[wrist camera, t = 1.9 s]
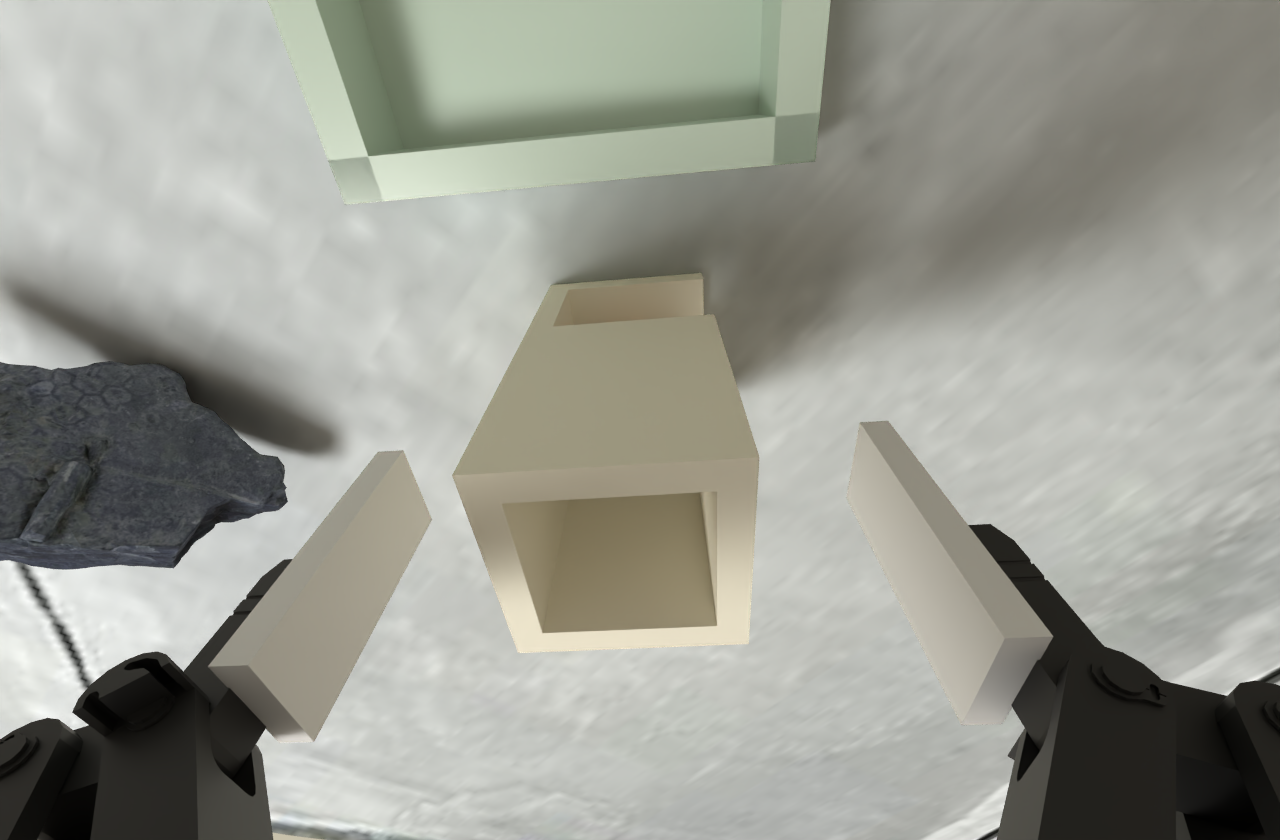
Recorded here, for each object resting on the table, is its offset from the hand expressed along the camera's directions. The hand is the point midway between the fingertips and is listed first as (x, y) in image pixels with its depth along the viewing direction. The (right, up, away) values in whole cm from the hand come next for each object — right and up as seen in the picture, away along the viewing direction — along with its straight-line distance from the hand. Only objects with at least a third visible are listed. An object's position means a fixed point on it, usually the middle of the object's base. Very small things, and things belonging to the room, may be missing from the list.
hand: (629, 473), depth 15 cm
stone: (-22, +3, +9) cm, 24 cm away
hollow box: (0, +5, +7) cm, 8 cm away
